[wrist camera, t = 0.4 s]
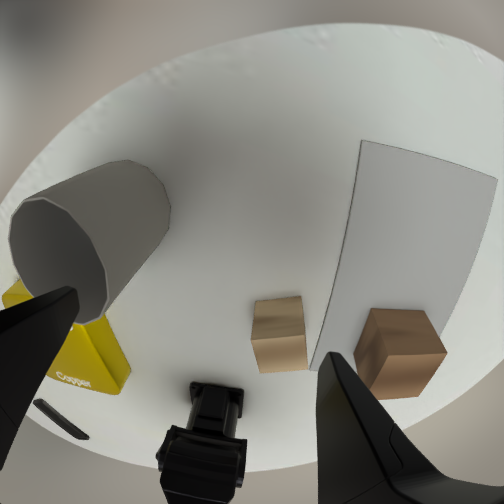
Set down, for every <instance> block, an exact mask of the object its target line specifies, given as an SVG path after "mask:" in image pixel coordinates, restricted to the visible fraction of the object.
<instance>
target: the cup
mask: <svg viewBox="0 0 504 504" xmlns="http://www.w3.org/2000/svg"><path fill="white" fill-rule="evenodd" d="M170 211H171V206H170V203H169V200H168V197H167V194H166V191H165V188H164V185H163V184H162V183H161V182H160V181H159V180H158V178H157V177H156V176H155V175H154V174H153V173H152V172H151V171H150V170H149V169H148V168H147V167H145V166H142V165H140V164H137V163H135V162H132V161H130V160H124V161H117V162H110V163H107V164H104V165H101V166H99V167H96V168H94V169H91V170H89V171H86V172H84V173H81V174H79V175H76V176H74V177H72V178H69V179H67V180H65V181H62V182H60V183H58V184H56V185H53V186H51V187H49V188H47V189H45V190H43V191H40V192H38V193H36V194H34V195H32V196H30V197H28V198H26V199H24V200H23V201H22V202H21V204H20V205H19V206H18V207H17V209H16V210H15V211H14V213H13V214H12V215H11V220H10V227H9V234H8V242H9V247H10V252H11V257H12V261H13V265H14V267H15V269H16V271H17V273H18V275H19V277H20V279H21V281H22V283H23V285H24V287H25V288H26V290H27V291H28V292H29V293H30V294H31V295H32V297H33V298H34V297H37V296H40V295H42V294H45V293H48V292H50V291H53V290H56V289H58V288H61V287H64V286H71V287H74V288H76V289H77V292H78V298H79V304H80V310H79V313H78V315H77V317H76V319H75V321H74V324H79V325H86V324H89V323H91V322H94V321H96V320H98V319H101V318H102V316H103V315H104V313H105V312H106V311H107V309H108V308H109V307H110V305H111V304H112V303H113V301H114V300H115V299H116V298H117V296H118V295H119V294H120V292H121V291H122V290H123V288H124V287H125V286H126V285H127V283H128V282H129V281H130V279H131V278H132V277H133V276H134V274H135V273H136V272H137V271H138V269H139V268H140V267H141V266H142V265H143V263H144V262H145V261H146V260H147V258H148V257H149V256H150V255H151V254H152V252H153V251H154V250H155V249H156V248H157V246H158V245H159V244H160V242H161V240H162V239H163V237H164V236H165V234H166V232H167V231H168V229H169V222H170Z"/></svg>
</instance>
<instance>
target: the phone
mask: <svg viewBox="0 0 504 504" xmlns="http://www.w3.org/2000/svg"><path fill="white" fill-rule="evenodd" d="M33 404H34V405H35V406H36V407H37V408H38V409H39V410H40V411H42V412H43V413H44V414H45V415H46V416H48V417H49V418H50V419H51V420H52V421H54V422H55V423H56V424H57V425H59V426H60V427H61V428H62V429H64V430H65V431H66V432H68V433H69V434H70V435H72V436H73V437H74V438H76V439H79V440H89V436H88V435H87V434H85V433H84V432H83V431H81V430H80V429H79V428H77V427H76V426H75V425H73V424H72V423H71V422H69V421H68V420H67V419H66V418H64V417H63V416H62V415H61V414H60V413H58V412H57V411H56V410H55V409H54V408H52V407H51V406H50V405H49V404H48V403H47V402H46V401H44V400H43V399H37V400H34V401H33Z"/></svg>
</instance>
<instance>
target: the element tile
mask: <svg viewBox="0 0 504 504" xmlns="http://www.w3.org/2000/svg"><path fill="white" fill-rule="evenodd" d="M32 298H33V297H32V295H31V294H30V293H29V292H28V291H27V290H26V288H25V287H24V285H23V283H22V281H21V279H19V280H18V281H17V282H16V283H15V284H14V285H13V286H11V287H10V288H9V289H8V290H7V291H6V292H5V293H4V294H3V295H2V302H3V304H4V307H5V309H6V308H9V307H11V306H14V305H16V304H19V303H21V302H24V301H27V300H29V299H32ZM130 372H131V368H130V366H129V364H128V362H127V360H126V358H125V356H124V354H123V352H122V350H121V348H120V346H119V344H118V342H117V340H116V338H115V336H114V333H113V331H112V329H111V327H110V325H109V323H108V320H107V318H106V316H105V313H104V315H103V316H102V318H101V319H98V320H96V321H94V322H91V323H89V324H86V325H79V324H74V323H73V325H72V327H71V329H70V331H69V333H68V336H67V338H66V340H65V342H64V344H63V345H62V347H61V349H60V351H59V352H58V354H57V356H56V357H55V359H54V361H53V363H52V364H51V366H50V368H49V370H48V371H47V373H46V375H47V376H49V377H51V378H53V379H55V380H58V381H61V382H64V383H68V384H71V385H75V386H78V387H82V388H86V389H89V390H93V391H97V392H102V393H106V394H110V395H118V394H119V393H120V392H121V390H122V388H123V386H124V384H125V382H126V380H127V378H128V376H129V374H130Z"/></svg>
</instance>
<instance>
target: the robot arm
mask: <svg viewBox="0 0 504 504" xmlns="http://www.w3.org/2000/svg"><path fill="white" fill-rule="evenodd" d="M79 310H80V304H79V298H78V292H77V289H76V288H74V287H71V286H64V287H61V288H58V289H56V290H53V291H50V292H48V293H45V294H42V295H40V296H37V297H34V298H32V299H29V300H27V301H24V302H21V303H19V304H16V305H14V306H11V307H9V308H6V309H4V310H1V311H0V471H1V470H2V468H3V465H4V463H5V460H6V458H7V455H8V453H9V450H10V448H11V445H12V443H13V441H14V438H15V436H16V434H17V431H18V428H19V427H20V424H21V422H22V420H23V418H24V416H25V414H26V412H27V410H28V408H29V406H30V404H31V402H32V400H33V398H34V396H35V394H36V392H37V390H38V388H39V386H40V384H41V382H42V381H43V379H44V377H45V375H46V373H47V371H48V370H49V368H50V366H51V364H52V363H53V361H54V359H55V357H56V356H57V354H58V352H59V351H60V349H61V347H62V345H63V344H64V342H65V340H66V338H67V336H68V333H69V331H70V329H71V327H72V325H73V323H74V321H75V319H76V317H77V315H78V313H79ZM190 394H191V400H192V408H191V412H190V416H189V419H188V423H187V427H186V429H185V428H180V427H177V426H175V425H172V426H171V428H170V430H167V434H166V437H165V440H164V442H163V444H162V445H161V447H160V448H159V450H158V452H157V453H156V459H157V460H158V469H159V471H160V472H162V473H161V477H160V484H161V487H162V489H163V492H164V494H165V497H166V499H167V502H168V504H229V503H230V502H231V500H232V498H233V497H234V494H235V487H237V488H241V487H242V483H243V479H244V473H245V465H246V452H247V439H236V438H235V432H236V425H237V418H241V417H242V407H243V397H244V391H242V390H239V389H231V388H223V387H217V386H210V385H204V384H198V383H191V384H190ZM316 429H317V456H318V504H504V486H501V487H500V486H488V485H482V484H477V483H471V482H466V481H461V480H456V479H453V478H449V477H447V476H445V475H444V474H442V473H441V472H440V471H439V470H438V469H437V468H436V467H435V466H434V465H433V464H432V463H431V462H430V461H429V460H428V459H427V458H426V457H425V456H424V455H423V454H422V453H421V452H420V451H419V450H418V449H417V448H416V447H415V446H414V445H413V443H412V442H411V441H410V440H409V439H408V438H407V437H406V435H405V434H404V433H403V432H402V430H401V429H400V428H399V427H398V425H397V424H396V423H394V420H393V419H392V418H391V417H390V415H389V414H388V413H387V411H386V410H385V409H384V408H383V406H382V405H381V404H380V403H379V401H378V400H377V399H376V397H375V396H374V395H373V394H372V392H371V391H370V390H369V389H368V387H367V386H366V385H365V384H364V382H363V381H362V380H361V378H360V377H359V376H358V375H357V373H356V372H355V371H354V370H353V368H352V367H351V366H350V365H349V363H348V362H347V361H346V359H345V358H344V357H343V356H342V354H341V353H339V352H333V351H329V352H327V354H326V355H325V357H324V359H323V361H322V363H321V365H320V367H319V370H318V381H317V398H316ZM0 504H1V503H0Z"/></svg>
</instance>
